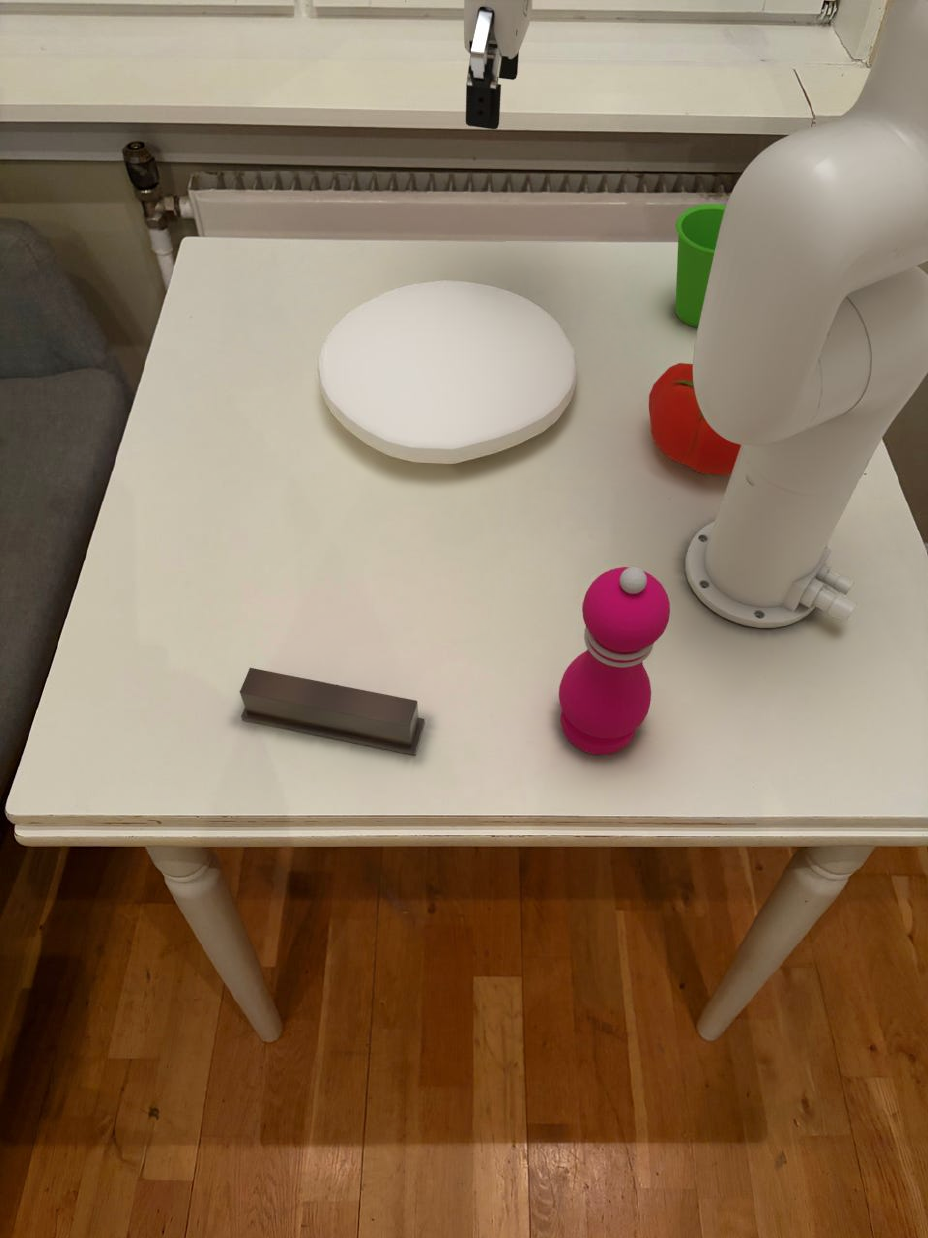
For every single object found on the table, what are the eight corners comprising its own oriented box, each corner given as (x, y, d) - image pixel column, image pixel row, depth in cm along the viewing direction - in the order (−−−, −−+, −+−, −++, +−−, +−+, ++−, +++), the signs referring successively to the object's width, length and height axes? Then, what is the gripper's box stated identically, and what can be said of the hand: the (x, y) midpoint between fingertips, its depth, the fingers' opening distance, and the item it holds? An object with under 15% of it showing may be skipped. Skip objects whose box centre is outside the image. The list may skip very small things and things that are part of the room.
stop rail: (424, 722, 78) (423, 697, 75) (415, 756, 76) (413, 732, 73) (255, 688, 80) (246, 662, 77) (241, 720, 78) (232, 695, 75)
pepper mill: (536, 721, 78) (557, 571, 62) (593, 669, 81) (628, 513, 65) (602, 778, 75) (643, 636, 59) (659, 722, 78) (712, 573, 62)
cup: (645, 297, 112) (662, 211, 103) (715, 284, 113) (737, 197, 105) (678, 344, 107) (698, 257, 98) (750, 330, 108) (777, 243, 100)
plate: (432, 243, 110) (629, 334, 100) (430, 294, 115) (617, 385, 105) (259, 344, 94) (472, 463, 85) (264, 398, 99) (467, 516, 90)
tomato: (788, 450, 97) (814, 385, 90) (710, 510, 92) (731, 446, 85) (693, 388, 103) (710, 322, 96) (614, 441, 98) (627, 376, 91)
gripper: (527, -59, 75) (513, 151, 89) (560, -138, 84) (543, 64, 99) (434, -70, 76) (435, 141, 90) (478, -146, 85) (473, 55, 99)
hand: (492, 100), depth 94 cm, fingers open, 9 cm apart
